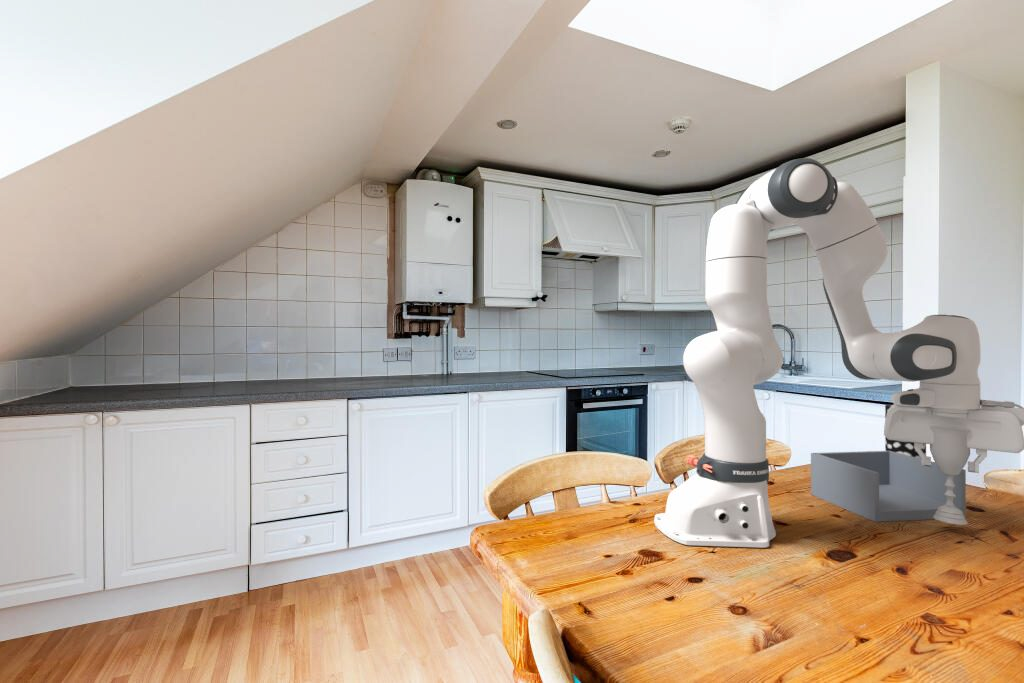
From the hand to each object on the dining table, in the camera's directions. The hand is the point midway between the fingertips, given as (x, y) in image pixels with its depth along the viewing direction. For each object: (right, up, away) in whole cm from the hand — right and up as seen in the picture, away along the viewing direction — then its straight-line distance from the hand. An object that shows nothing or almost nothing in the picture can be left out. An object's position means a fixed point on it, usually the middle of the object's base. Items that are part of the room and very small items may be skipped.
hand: (949, 468), depth 94 cm
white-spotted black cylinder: (+18, -12, +32) cm, 39 cm away
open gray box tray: (-2, -12, +15) cm, 19 cm away
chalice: (0, -10, 0) cm, 10 cm away
